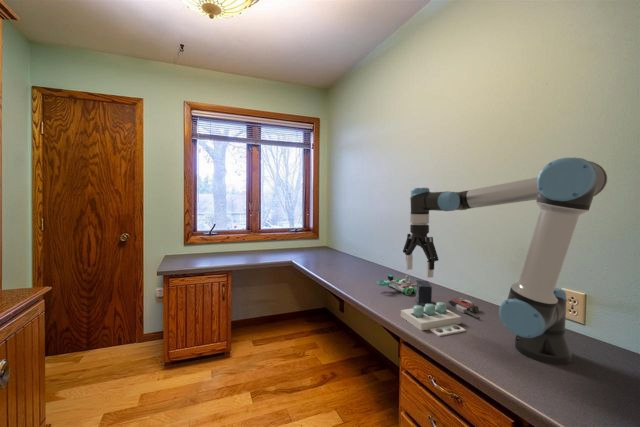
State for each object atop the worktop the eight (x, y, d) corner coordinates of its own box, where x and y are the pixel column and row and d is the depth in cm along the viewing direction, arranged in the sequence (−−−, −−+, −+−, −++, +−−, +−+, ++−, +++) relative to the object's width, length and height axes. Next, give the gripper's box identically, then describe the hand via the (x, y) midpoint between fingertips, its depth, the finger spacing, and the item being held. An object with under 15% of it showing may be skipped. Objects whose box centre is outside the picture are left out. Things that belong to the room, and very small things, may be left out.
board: (460, 323, 117) (461, 316, 117) (421, 330, 111) (421, 323, 111) (437, 311, 130) (437, 304, 130) (400, 316, 124) (400, 310, 124)
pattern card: (465, 331, 110) (465, 329, 110) (439, 336, 106) (439, 333, 106) (456, 325, 115) (456, 323, 115) (430, 330, 111) (430, 328, 111)
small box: (432, 308, 134) (432, 286, 133) (418, 307, 135) (418, 286, 135) (428, 300, 144) (428, 280, 144) (415, 299, 146) (415, 279, 145)
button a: (448, 313, 121) (448, 304, 121) (440, 315, 120) (440, 306, 119) (441, 310, 125) (441, 301, 125) (434, 311, 124) (434, 302, 123)
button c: (425, 317, 117) (425, 308, 117) (417, 318, 116) (417, 309, 116) (419, 313, 121) (419, 304, 121) (411, 314, 120) (411, 305, 120)
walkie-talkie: (444, 304, 139) (477, 321, 120) (444, 296, 139) (477, 311, 120) (459, 302, 142) (493, 318, 122) (459, 294, 141) (493, 309, 122)
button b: (437, 315, 119) (437, 306, 119) (429, 316, 118) (429, 307, 118) (430, 311, 123) (430, 303, 123) (422, 313, 122) (422, 304, 122)
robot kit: (369, 289, 164) (369, 273, 163) (403, 284, 173) (403, 269, 173) (388, 299, 147) (388, 282, 146) (425, 293, 156) (425, 276, 156)
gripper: (448, 226, 108) (447, 280, 108) (409, 221, 131) (408, 266, 132) (432, 226, 105) (432, 281, 106) (395, 222, 129) (395, 267, 130)
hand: (419, 273), depth 119 cm, fingers open, 13 cm apart
